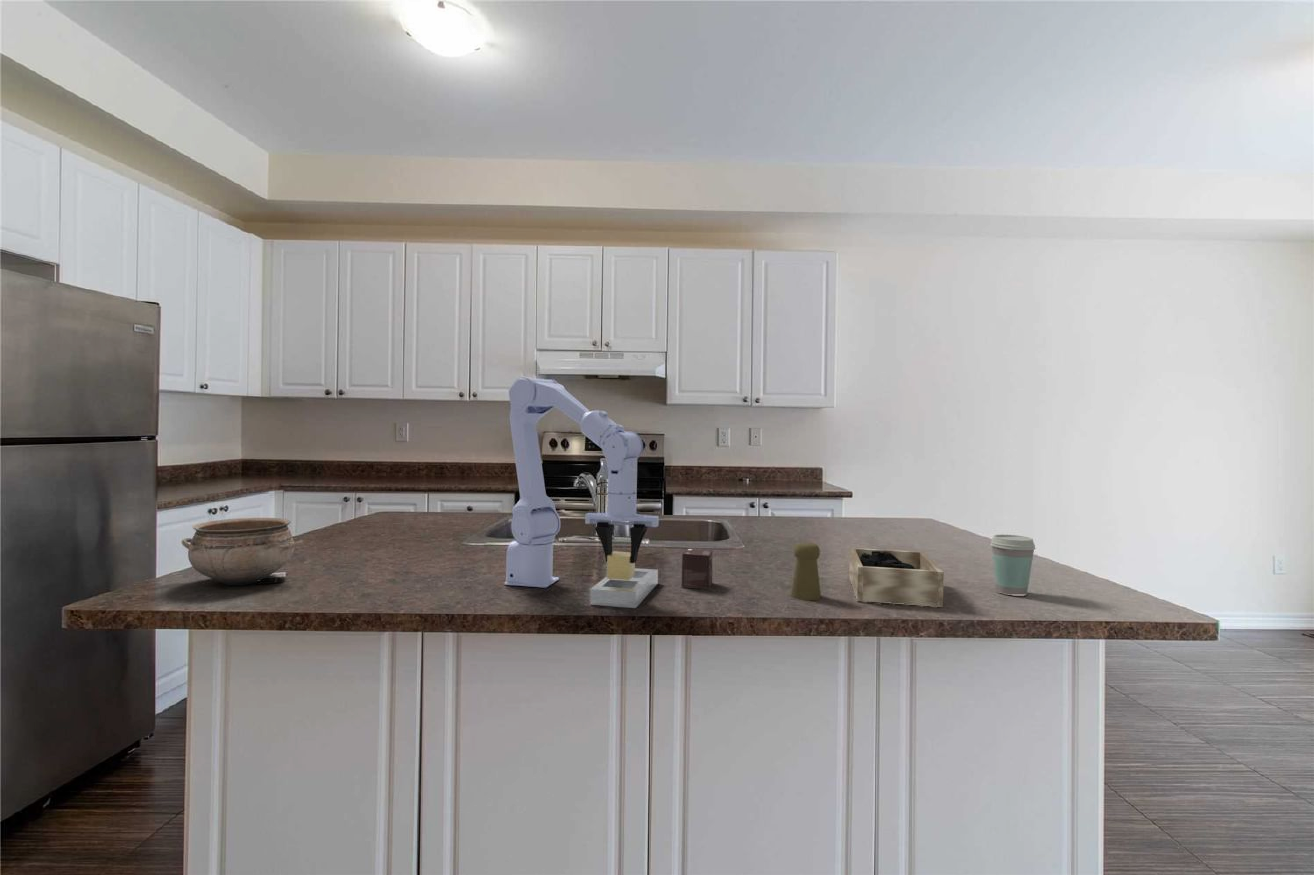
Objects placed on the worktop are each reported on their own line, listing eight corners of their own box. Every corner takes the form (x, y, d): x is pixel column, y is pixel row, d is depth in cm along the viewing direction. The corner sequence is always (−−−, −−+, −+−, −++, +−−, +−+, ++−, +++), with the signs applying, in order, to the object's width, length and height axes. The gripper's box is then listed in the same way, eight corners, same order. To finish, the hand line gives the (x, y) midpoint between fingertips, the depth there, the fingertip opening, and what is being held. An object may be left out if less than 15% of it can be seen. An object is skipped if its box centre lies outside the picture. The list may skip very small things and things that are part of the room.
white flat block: (590, 604, 127) (590, 588, 126) (617, 580, 146) (618, 567, 146) (635, 608, 125) (635, 592, 125) (657, 583, 144) (658, 569, 144)
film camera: (936, 602, 134) (937, 557, 133) (895, 605, 131) (897, 560, 130) (887, 584, 148) (888, 544, 148) (850, 586, 145) (851, 546, 145)
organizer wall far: (854, 579, 151) (854, 548, 151) (853, 578, 152) (854, 548, 152) (918, 583, 149) (919, 552, 148) (918, 582, 150) (918, 551, 149)
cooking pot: (324, 572, 149) (325, 518, 148) (276, 594, 130) (276, 532, 130) (213, 570, 149) (213, 516, 149) (149, 591, 130) (149, 529, 130)
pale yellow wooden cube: (606, 578, 129) (607, 555, 129) (613, 573, 134) (613, 551, 134) (629, 580, 128) (629, 557, 128) (634, 574, 133) (635, 552, 133)
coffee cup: (1032, 591, 143) (1033, 536, 143) (1036, 600, 136) (1037, 542, 135) (988, 586, 147) (989, 532, 147) (989, 595, 139) (991, 538, 139)
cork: (822, 594, 138) (823, 541, 137) (819, 601, 132) (820, 546, 132) (792, 591, 140) (794, 539, 139) (788, 598, 134) (790, 544, 134)
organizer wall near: (862, 602, 132) (863, 567, 132) (861, 600, 133) (862, 566, 133) (937, 607, 129) (938, 571, 129) (936, 606, 130) (937, 570, 130)
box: (709, 589, 140) (709, 555, 140) (681, 587, 141) (681, 553, 141) (712, 583, 146) (713, 549, 146) (685, 581, 147) (686, 548, 147)
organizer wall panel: (857, 601, 132) (858, 566, 132) (849, 578, 153) (850, 547, 153) (862, 602, 132) (863, 567, 132) (853, 578, 152) (854, 548, 152)
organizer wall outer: (937, 607, 129) (938, 571, 129) (918, 582, 150) (918, 551, 149) (942, 607, 129) (943, 572, 129) (922, 582, 149) (923, 551, 149)
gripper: (580, 493, 128) (579, 563, 128) (653, 496, 125) (652, 567, 125) (591, 490, 135) (590, 556, 135) (661, 492, 132) (660, 560, 132)
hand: (621, 561), depth 131 cm, fingers closed on pale yellow wooden cube, 4 cm apart
